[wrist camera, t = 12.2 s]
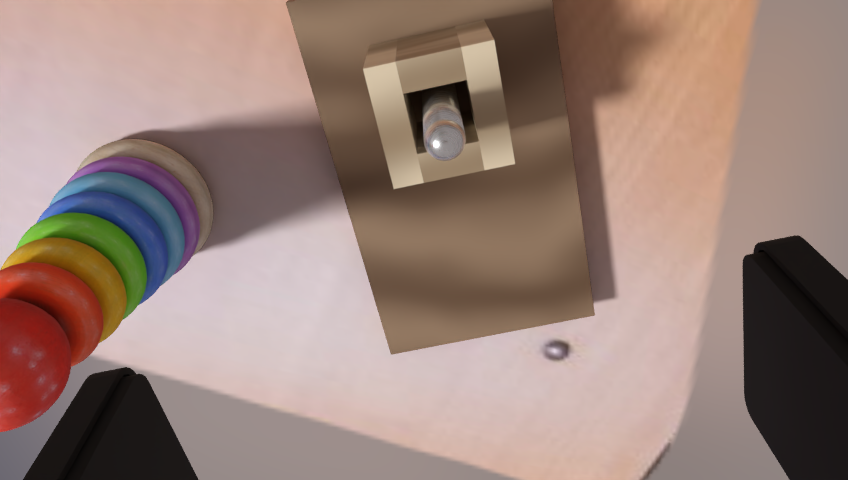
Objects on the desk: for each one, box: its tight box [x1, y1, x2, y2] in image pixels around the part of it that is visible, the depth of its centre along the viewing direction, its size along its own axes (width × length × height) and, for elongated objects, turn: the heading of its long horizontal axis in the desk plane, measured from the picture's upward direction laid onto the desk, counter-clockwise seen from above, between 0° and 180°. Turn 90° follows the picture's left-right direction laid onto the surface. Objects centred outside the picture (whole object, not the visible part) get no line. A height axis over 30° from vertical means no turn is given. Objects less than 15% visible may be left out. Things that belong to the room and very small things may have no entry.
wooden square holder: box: [363, 20, 515, 189], centre depth 35 cm, size 6×6×5 cm
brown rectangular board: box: [286, 0, 595, 354], centre depth 41 cm, size 22×13×2 cm, turn 13°
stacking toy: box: [0, 139, 213, 432], centre depth 34 cm, size 8×8×19 cm
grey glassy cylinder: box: [422, 83, 466, 161], centre depth 34 cm, size 2×2×9 cm
